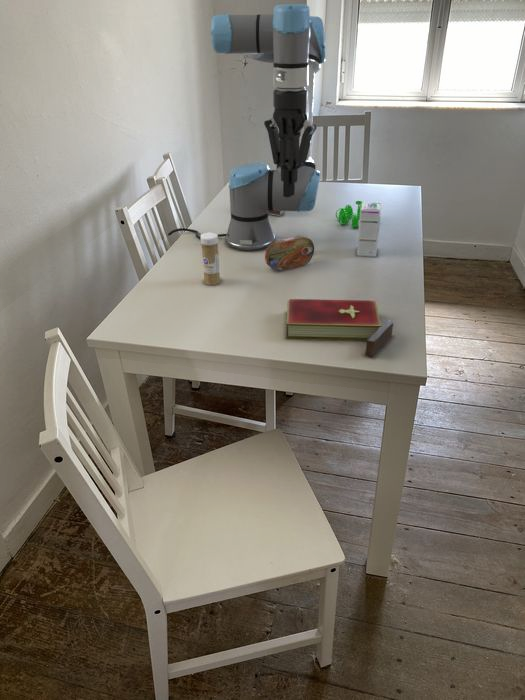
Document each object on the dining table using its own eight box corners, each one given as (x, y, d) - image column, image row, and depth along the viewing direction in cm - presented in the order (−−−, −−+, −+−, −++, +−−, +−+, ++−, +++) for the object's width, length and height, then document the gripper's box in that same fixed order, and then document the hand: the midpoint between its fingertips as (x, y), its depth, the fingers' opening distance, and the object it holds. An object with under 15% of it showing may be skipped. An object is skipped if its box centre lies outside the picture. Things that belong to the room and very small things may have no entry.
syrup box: (376, 257, 156) (381, 209, 148) (356, 255, 157) (360, 208, 149) (376, 249, 161) (382, 202, 153) (357, 248, 162) (361, 201, 154)
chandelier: (376, 232, 172) (378, 211, 168) (330, 227, 176) (332, 207, 172) (382, 216, 184) (384, 197, 180) (339, 212, 188) (341, 193, 184)
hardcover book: (287, 312, 130) (287, 297, 128) (373, 313, 129) (375, 298, 127) (286, 338, 121) (286, 322, 118) (379, 340, 119) (381, 324, 117)
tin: (268, 274, 148) (268, 246, 143) (263, 269, 150) (263, 242, 146) (314, 263, 154) (315, 235, 149) (308, 259, 156) (309, 231, 151)
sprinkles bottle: (201, 284, 144) (197, 237, 136) (208, 276, 147) (205, 230, 139) (216, 286, 142) (213, 239, 134) (223, 279, 146) (220, 233, 138)
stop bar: (365, 355, 115) (366, 340, 112) (384, 334, 121) (387, 320, 119) (371, 357, 114) (373, 342, 112) (391, 337, 121) (393, 322, 118)
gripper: (256, 88, 116) (258, 194, 129) (306, 93, 110) (303, 204, 123) (275, 84, 121) (275, 187, 134) (325, 88, 115) (319, 196, 128)
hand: (288, 195), depth 129 cm, fingers closed
